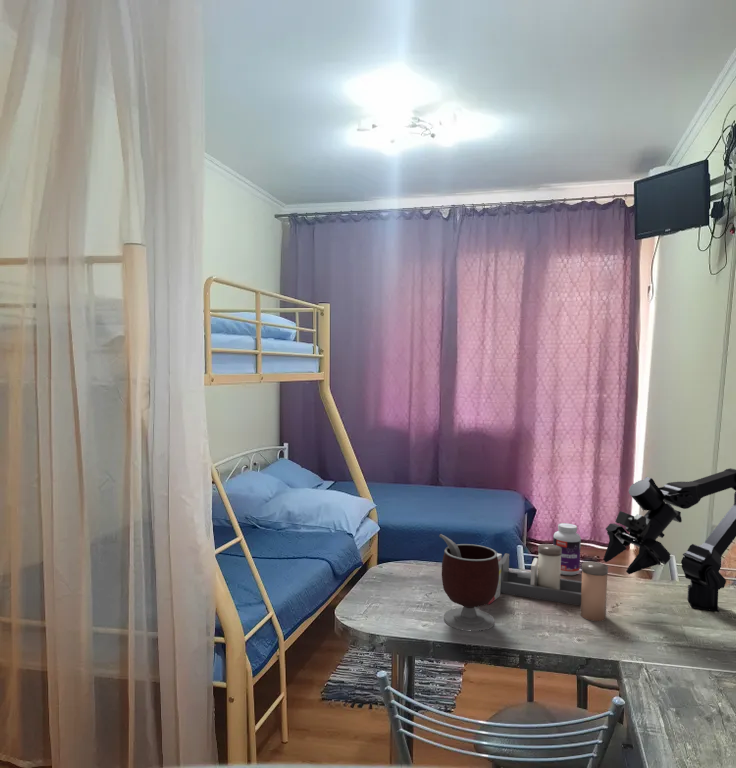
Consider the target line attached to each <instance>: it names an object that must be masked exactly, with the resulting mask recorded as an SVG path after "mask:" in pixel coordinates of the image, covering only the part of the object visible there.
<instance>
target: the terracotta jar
mask: <svg viewBox="0 0 736 768" xmlns="http://www.w3.org/2000/svg"><path fill="white" fill-rule="evenodd" d="M608 573H609V566H608V565H607V564H605V563H602V562H598V561H583V562H582V563H581V582H582V586H581V606H580V616H581V617H582V618H583V619H585V620H589V621H591V620H592V621H593V622H603V621H605V620H606V617H607V595H608V593H607V592H608ZM602 620H603V621H602Z"/></svg>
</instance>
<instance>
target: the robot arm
mask: <svg viewBox="0 0 736 768" xmlns="http://www.w3.org/2000/svg"><path fill="white" fill-rule="evenodd" d="M729 489H732V490H733V491H735V492H734V493H733V496H734V497H733V505H732V506H731V507H730V508H729V510H728V511H727V512H726V513H725V515H724V517H723V518H722V519H721V520H720V521H719V523H718V524H717V525H716V527H715V528H714V529H713V530H712V532H711V533H710V534H709V536H708V537H707V538H706V539H705V541H704V542H703V543H701V544H699V545H696V544H694V543H691V544H690V545H689V546H688V548H687V550H686V551H685V552H684V553H682V558H681V561H680V564H681V568H682V571H683V574H684V577H685V578H686V579H687V580H690V584H688V585H687V598H686V599H687V602H688V604H689V607H690V608H691V609H692V608H693V609H697V610H703V611H704V610H705V611H711V612H717V613H719V612H720V609H719V607H718V606H719V591H720V590H721V589H725V587H726V583H727V579H726V578H725V577H724V576H723V574H721V573H720V569H721V568H722V556H723V554H724V553H725V552H726V550H727V549H728V548H729V547H730V545H731V544H732V543H733V541H734V540H735V539H736V468H726V469H723V470H722V471H720V472H717V473H713V474H710V475H707V476H703V477H701V478H698V479H695V480H692V481H673V482H671V481H670V482H668V483H665V484H664V485H663V486H661V487H658V485H657V484H656V482H655V481H654V479H653V478H652V477H648V476H646V477H644V479H641V480H637V481H636V482H634V483H632V484H631V485H630V486H629V488H628V494H629V495H630V497H632V499H633V500H634V501H635V502H636V503H637V505H638V506H639V507H640V508H641V509H642V510H644V511H646V513H645V514H644V515H641V514H638V513H637V514H636V515H635V516H634V515H632V514H629V513H626V512H623V511H621V510H619V512H618V514H617V516H616V519H615V520H614V521H615V523H609V524H608V526H606V528H605V530H606V534H607V535H608V539H609V541H608V544H607V548H606V550H605V553H604V556H603V558H602V560H603V562H604V563H608V562H609V561H612V559H613V560H614V558H616V557H617V556H618V555H620V554H621V553H623V552H624V551H625V550H627V547H628V546H630V545H631V544H632V545H634V546H636V547H638V554H637V555H636V556H635V558H634V559H633V560H632V561H631V563H630V564H629V566H628V567H627V569H626V573H627V574H628V575H631V574H635V573H637V572H640V571H641V570H645V569H647V568H651V567H654V566H660V565H667V563H669V562H670V560H671V553H670V552H669V551H668V549H666V546H664V545H663V544H662V542H661V541H658V540H657V539H658V538H662V539H663V538H664V537H665V534H664V531H665V530H666V528H668V526H669V525H670V524H671V523H672V522H673V521H675V522H678V523H682V521H683V520H682V518H683V517H682V516H681V514H682V513H681V511H680V510H676V509H674V507H676V508H679V509H680V508H681V509H683V510H685V509H686V510H687V509H690V508H691V507H694V506H695V505H697V504H699V502H700V501H701V500H702V499H703V498H705V497H707V496H710V495H713V494H717V493H720V492H723V491H727V490H729ZM619 524H620V525H619ZM623 526H624V527H625V528H624V527H623Z"/></svg>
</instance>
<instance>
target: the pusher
mask: <svg viewBox="0 0 736 768" xmlns="http://www.w3.org/2000/svg"><path fill="white" fill-rule="evenodd" d="M516 572H517V577H521V578H528V579H531V583H530V585H533V586H537V575H538V558H537V557H534V558H533V560H532V563H531V565H530V571H525V570H517V571H516Z"/></svg>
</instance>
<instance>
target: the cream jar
mask: <svg viewBox="0 0 736 768" xmlns="http://www.w3.org/2000/svg"><path fill="white" fill-rule="evenodd" d="M537 551H538V555H537V556H538V585H537V586H540V587H546V588H553V589H559V590H560V578H561V575H562V574H561V554H562V548H561V547H560V546H557V545H553V543H552V544H551V543H542V544H541V543H540V544H538V549H537Z"/></svg>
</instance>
